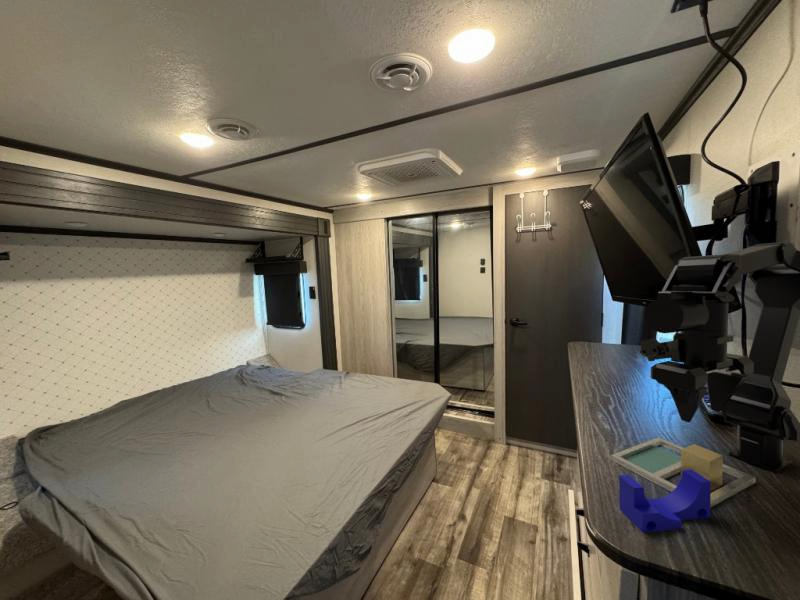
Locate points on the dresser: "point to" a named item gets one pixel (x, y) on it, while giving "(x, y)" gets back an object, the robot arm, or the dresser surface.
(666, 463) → the grey divided frame
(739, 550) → the dresser surface
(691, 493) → the cable clip
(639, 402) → the dresser surface
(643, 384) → the dresser surface
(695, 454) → the yellow rectangular block
